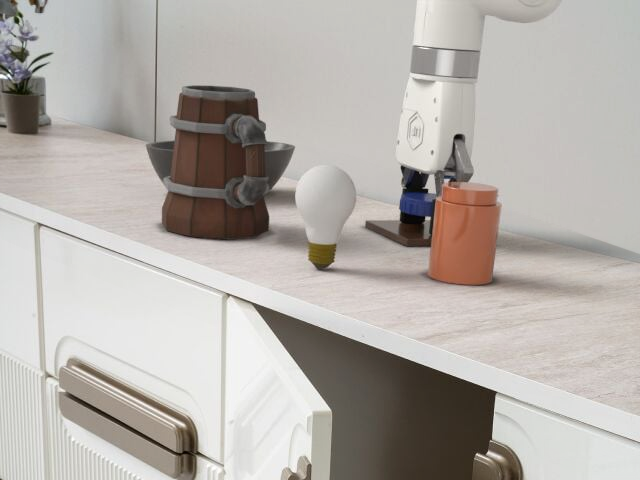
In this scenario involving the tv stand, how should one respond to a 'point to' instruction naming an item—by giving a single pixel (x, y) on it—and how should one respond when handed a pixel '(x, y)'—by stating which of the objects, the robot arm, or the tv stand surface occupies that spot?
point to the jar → (465, 233)
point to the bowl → (274, 159)
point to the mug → (217, 165)
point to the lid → (417, 203)
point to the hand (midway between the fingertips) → (426, 227)
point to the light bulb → (324, 209)
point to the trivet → (402, 231)
